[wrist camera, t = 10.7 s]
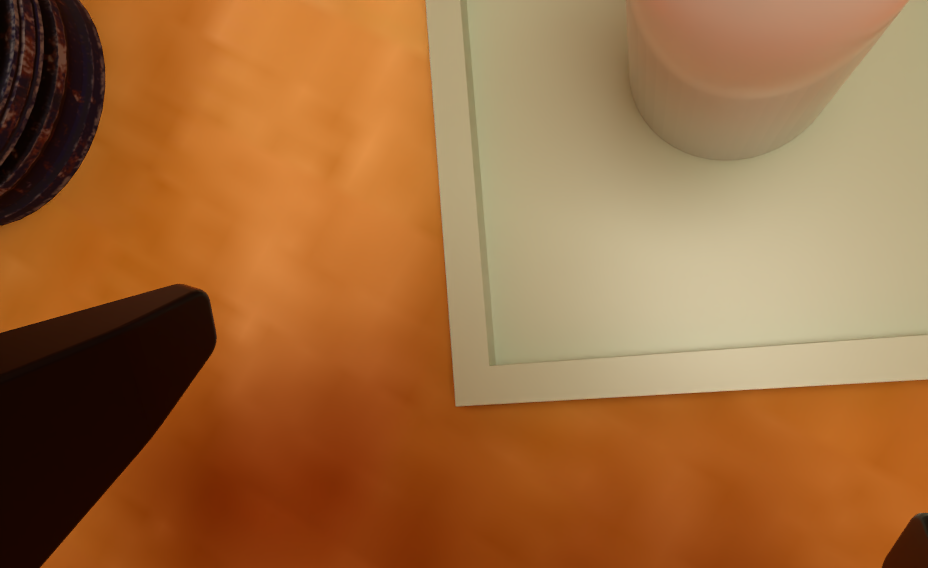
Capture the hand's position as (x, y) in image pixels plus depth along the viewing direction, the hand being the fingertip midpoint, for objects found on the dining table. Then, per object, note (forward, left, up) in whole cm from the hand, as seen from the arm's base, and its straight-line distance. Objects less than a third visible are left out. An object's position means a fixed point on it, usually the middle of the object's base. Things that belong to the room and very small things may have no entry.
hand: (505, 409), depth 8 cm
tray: (+6, -4, -11) cm, 13 cm away
